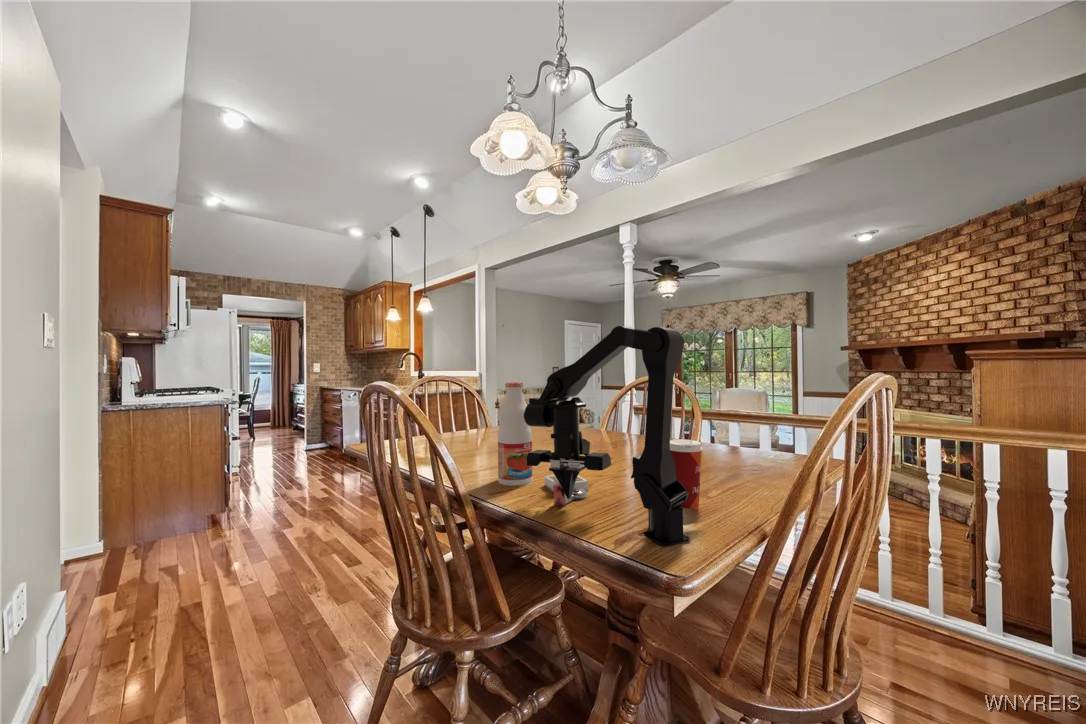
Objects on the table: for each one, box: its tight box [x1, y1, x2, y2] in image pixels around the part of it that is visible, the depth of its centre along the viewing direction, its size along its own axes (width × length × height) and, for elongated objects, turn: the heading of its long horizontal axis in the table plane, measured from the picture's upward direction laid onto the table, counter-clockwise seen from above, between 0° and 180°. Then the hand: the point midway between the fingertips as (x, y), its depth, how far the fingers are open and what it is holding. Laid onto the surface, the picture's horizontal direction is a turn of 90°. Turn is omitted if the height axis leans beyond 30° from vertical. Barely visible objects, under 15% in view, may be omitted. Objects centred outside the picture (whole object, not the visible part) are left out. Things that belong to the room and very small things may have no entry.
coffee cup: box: [670, 438, 704, 511], centre depth 97 cm, size 8×8×15 cm
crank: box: [553, 483, 588, 508], centre depth 100 cm, size 12×5×5 cm, turn 146°
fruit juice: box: [497, 382, 534, 487], centre depth 117 cm, size 9×9×28 cm
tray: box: [544, 474, 589, 493], centre depth 110 cm, size 8×8×2 cm
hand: (569, 498), depth 95 cm, fingers closed
